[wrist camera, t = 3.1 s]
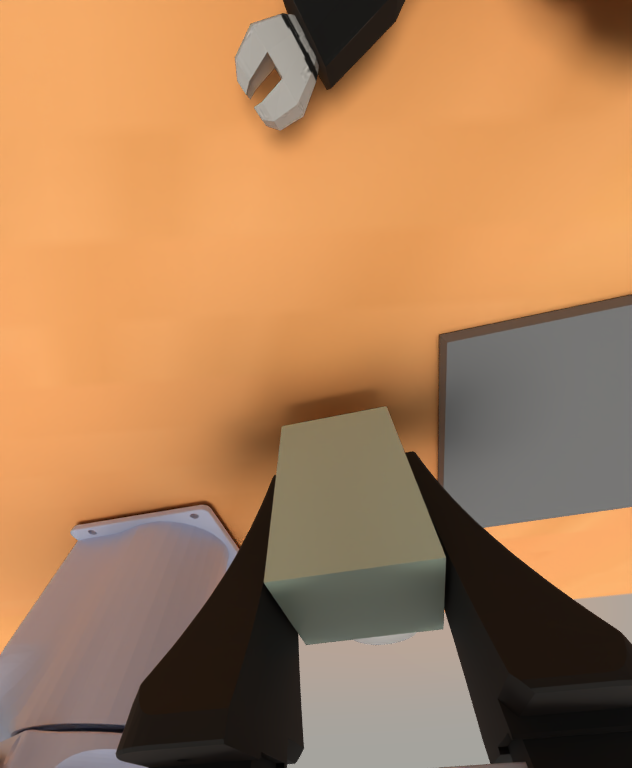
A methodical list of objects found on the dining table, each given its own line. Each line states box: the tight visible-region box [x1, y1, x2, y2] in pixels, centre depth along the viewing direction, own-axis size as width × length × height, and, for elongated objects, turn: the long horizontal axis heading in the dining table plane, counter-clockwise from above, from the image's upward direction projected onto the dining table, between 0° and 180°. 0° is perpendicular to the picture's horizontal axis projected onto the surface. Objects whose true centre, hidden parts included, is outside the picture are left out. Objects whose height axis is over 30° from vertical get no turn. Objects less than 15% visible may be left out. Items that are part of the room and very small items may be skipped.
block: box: [264, 406, 446, 645], centre depth 11 cm, size 4×4×6 cm
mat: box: [438, 295, 632, 528], centre depth 15 cm, size 14×14×1 cm
